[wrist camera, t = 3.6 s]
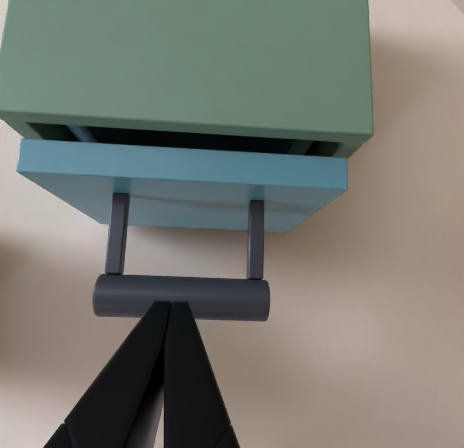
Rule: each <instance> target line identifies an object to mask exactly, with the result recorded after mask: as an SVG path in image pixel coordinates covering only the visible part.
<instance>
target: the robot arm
mask: <svg viewBox="0 0 464 448" xmlns="http://www.w3.org/2000/svg"><path fill="white" fill-rule="evenodd" d="M163 401H164V448H240V446H239V443H238V441H237V438H236V435H235V432H234V429H233V426H231V421H230V418H229V416H228V413H227V410H226V407H225V404H224V401H223V398H222V396H221V393H220V390H219V387H218V384H217V381H216V379H215V376H214V373H213V370H212V367H211V364H210V361H209V359H208V356H207V353H206V350H205V347H204V344H203V342H202V339H201V336H200V333H199V330H198V327H197V324H196V322H195V319H194V316H193V313H192V310H191V307H190V305H189V303H188V302H187V301H173V302H172V303H171V301H169V300H156V301H154V302H153V303H152V305H151V306H150V307H149V309H148V310H147V311H146V313H145V314H144V315H143V317H142V318H141V319H140V321H139V322H138V323H137V325H136V326H135V327H134V329H133V330H132V331H131V333H130V334H129V335H128V336H127V338H126V339H125V340H124V342H123V343H122V344H121V346H120V347H119V348H118V350H117V351H116V352H115V354H114V355H113V356H112V358H111V359H110V360H109V362H108V363H107V364H106V366H105V367H104V368H103V370H102V371H101V372H100V374H99V375H98V376H97V378H96V379H95V380H94V381H93V383H92V384H91V385H90V387H89V388H88V389H87V391H86V392H85V393H84V395H83V396H82V397H81V399H80V400H79V401H78V403H77V404H76V405H75V407H74V408H73V409H72V411H71V412H70V413H69V415H68V416H67V417H66V419H65V420H64V423H65V424H64V423H62V424H61V425H60V426H59V428H58V429H57V430H56V432H55V433H54V434H53V436H52V437H51V438H50V440H49V441H48V442H47V443H46V445H45V446H44V447H43V448H153V447H154V442H155V438H156V433H157V429H158V424H159V419H160V415H161V410H162V406H163Z"/></svg>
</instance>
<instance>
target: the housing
mask: <svg viewBox="0 0 464 448" xmlns="http://www.w3.org/2000/svg"><path fill="white" fill-rule="evenodd" d="M0 119H2V120H3V121H5V122H6V123H7V124H8V125H9V126H10V127H12V128H13V129H14V130H15V131H16V132H18V133H19V134H20V135H21V136H23V137H24V138H25V139H38V140H55V141H71V142H80V141H79V140H78V139H77V138H76V137H75V135H74V134H73V133H72V132H71V131H70V130H69V128H68V127H67V126H66V125H78V126H94V127H110V128H126V129H141V130H157V131H173V132H189V133H205V134H221V135H237V136H252V137H268V138H284V139H300V140H314V141H313V143H312V144H311V145H310V147H309V148H308V149H307V151H306V152H305V154H304V156H321V157H337V158H348V157H350V156H351V155H352V154H353V153H354V152H355V151H356V150H357V149H358V148H359V147H360V146H361V145H362V144H363V143H365V142H366V141H367V140H368V139H369V138H371V137H372V136H373V134H374V131H373V106H372V82H371V58H370V33H369V9H368V0H9V1H8V7H7V13H6V19H5V24H4V30H3V36H2V42H1V48H0Z"/></svg>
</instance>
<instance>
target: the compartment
mask: <svg viewBox="0 0 464 448" xmlns="http://www.w3.org/2000/svg"><path fill="white" fill-rule="evenodd" d="M66 126H67V127H68V128H69V130H70V131H71V132H72V133H73V134H74V135H75V137H76V138H77V139H78V140H79V141H80V142H71V141H55V140H38V139H21V142H20V149H19V156H18V162H17V169H16V171H17V172H18V173H20V174H21V175H23V176H25V177H26V178H28V179H29V180H31V181H33V182H34V183H36V184H37V185H39V186H41V187H42V188H44V189H46V190H47V191H49V192H50V193H52V194H54V195H55V196H57V197H59V198H60V199H62V200H63V201H65V202H67V203H68V204H70V205H71V206H73V207H75V208H76V209H78V210H80V211H81V212H83V213H84V214H86V215H88V216H89V217H91V218H92V219H94V220H96V221H97V222H99V223H101V224H109V234H108V244H107V254H106V264H105V273H106V274H101V275H100V276H99V277H98V278H97V281H96V283H95V287H94V292H93V310H94V313H95V315H96V316H99V317H133V318H142V317H143V315H144V314H145V313H146V311H147V310H148V309H149V307H150V306H151V305H152V303H153V302H154V301H156V300H169V301H171V303H172V302H173V301H187V302H188V303H189V305H190V307H191V310H192V313H193V316H194V319H201V320H235V321H266V320H267V319H268V316H269V310H270V290H269V284H268V282H267V281H266V280H261V279H263V259H264V231H266V232H288V231H289V230H290V229H292V228H293V227H295V226H296V225H298V224H299V223H300V222H302V221H303V220H305V219H306V218H308V217H309V216H310V215H312V214H313V213H315V212H316V211H318V210H319V209H320V208H322V207H323V206H325V205H326V204H327V203H329V202H330V201H332V200H333V199H335V198H336V197H337V196H339V195H340V194H342V193H343V192H345V191H346V190H347V189H348V183H347V158H337V157H321V156H304V154H305V152H306V151H307V149H308V148H309V147H310V145H311V144H312V143H313V141H314V140H300V139H284V138H268V137H252V136H237V135H221V134H205V133H189V132H173V131H157V130H141V129H126V128H110V127H94V126H78V125H66ZM128 225H135V226H157V227H179V228H201V229H222V230H244V231H248V246H247V279H228V278H201V277H174V276H147V275H122V274H123V272H124V261H125V249H126V238H127V227H128Z"/></svg>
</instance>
